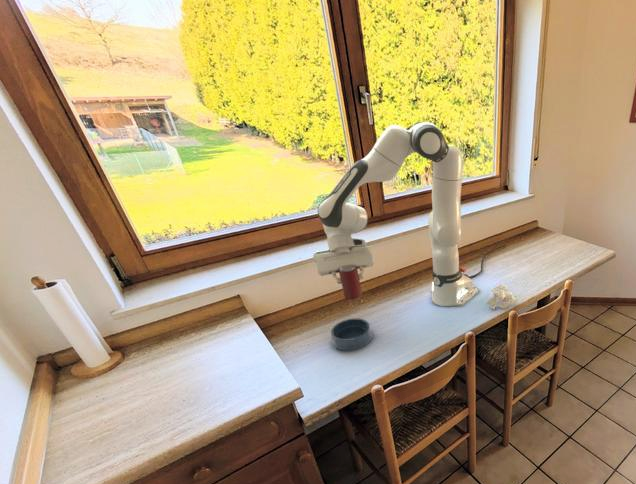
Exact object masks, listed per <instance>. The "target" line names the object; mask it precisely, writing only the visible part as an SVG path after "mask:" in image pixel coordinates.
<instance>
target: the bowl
mask: <svg viewBox="0 0 636 484" xmlns="http://www.w3.org/2000/svg"><path fill="white" fill-rule="evenodd" d="M330 336H331V340H332V344H333V346H334V348H335V349H337V350H339V351H342V352H352V351H357V350H360V349H362V348H365V347H366V346H367V345H368V344H370V342H371V340H372V338H373V337H372V336H373V335H372V329H371V325H370V323H369V321H368V320H365V319H363V318H348V319H344V320H341V321H339V322H337V323H336V324H335V325H333V327H332V328H331V330H330Z"/></svg>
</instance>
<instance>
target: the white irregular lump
mask: <svg viewBox="0 0 636 484" xmlns="http://www.w3.org/2000/svg"><path fill="white" fill-rule="evenodd" d="M491 293H492V297H491V298H490V299H489V300H488V301H486V303H485V304H486V305H487V306H489V307H490V308H491V309H492V310H496V307H500V308H501V309H503V310H505V309H507V308H508V307H511V306H512V305H515V304H516V303H517V301H518V298H517V296H515V295H514V294H513V292H511V291H509V290H507V288H506V286H505V285H504V284H502V283H499V285H497V286H496V287H494V288H492V289H491Z"/></svg>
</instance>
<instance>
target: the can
mask: <svg viewBox="0 0 636 484" xmlns="http://www.w3.org/2000/svg"><path fill="white" fill-rule="evenodd" d="M338 270H339V273H338V274H339V278H341V282H342V283H341V287H342V292H343V296H344V298H345V299H346V300H355V299H358V298H360V297H362V295H363V291H362V287H361V281H360V280H359V276H358V274H359V271H358V270H359V269H357V266H356V265H346V266H341V267H340V268H339V269H338Z"/></svg>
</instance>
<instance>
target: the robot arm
mask: <svg viewBox="0 0 636 484" xmlns="http://www.w3.org/2000/svg"><path fill="white" fill-rule="evenodd" d="M414 153H416V154H418V155H419V156H420V157H421V158H424V159H426V160H429V161H431V162H432V180H431V181H432V183H431V205H432V210H431V211H430V213H429V215H428V220H427V223H428V233H429V241H430V248H431V249H430V250H431V256H432V257H431V258H432V272H431V273H432V284H431V285H432V286H431V293H432V294H431V298H430V299H431V302H432V303H433V304H435V305H437V306H440V307H453V306H456V307H462V306H465V304H467V302H469V301H470V300H471V299H472V298H474V296H475V295H477V294H478V293H479V289H478V288H477V286H475V285H474V283H473V280H472V279H471V278H475V277H477V276H478V275H480V274H481V273H482V272H483V265H484V260H485V258H486V257H487V256H488V255H489V254H490V253H492V252H494V251H496V250H499V249H501V248H504V247H507V246H506V244H503V245H501V246H498V247H495V248H493V249H491V250H489V251H487V252H486V253H485V254H484V255H483V257H482V259H481V263H480V270H479V272H477V273H475V274H473V275H470V276H469V275H468V274H467V273H466V272H467V268H466V267H463V266H462V267H461V266H460V259H459V258H460V256H459V255H460V254H459V248H458V247H459V246H458V244H459V243H460V242H461V240H462V208H461V207H462V206H461V198H462V197H461V196H462V185H463V184H462V183H463V157H462V152H461V150H460V149H459V148H458V147H456V146H454V145H452V144H448V142H447V140H446V138H445V136H444V134H443V132H442V131H441V130H440V128H439V127H438V126H436V124H434V123H432V122H429V121H419V122H416V123H415V124H413V125H411V126H409V127H407V128H405V127H403V126H402V125H398V124H391V125H389V126H387V128H386V129H385V130H384V131H383V132H382V133H381V135H380V136H379V137H378V139H377V141H375V143H374V145H373V147H372V149H371V150H370V151H369V152H368V153H367V154H366V156H364V157H363V158H362V159H359V160H357V161H355V162H354V163H353V164H352V165H351V166H350V167H349V169H347V171H346V172H345V174H344V175H343V176H342V178H341V179H339V181H338V183H337V184H336V185H335V187H333V189H332V191H331V192H330V193H329V194H328V195H327V196H325V198H323V200H321V202H320V203H319V205H318V207H317V216H318V219H319V220H320V222H321V223H322V227H323V231H324V234H325V235H326V242H327V247H328V248H327V249H322V250H317V251H315V252H314V253H313V255H312V256H313V257H312V258H313V261H314V262H315V263H316V268H317V269H316V270H317V273H318V275H319V276H322V277H323V276H327V275H328V276H329V275H331V276H332V278H333V279H334V280H335V281H336V283H337V285H340V284H341V285H342V282H341V278H340V277H338V276H337V274H339V270H338V269H339V268H340V267H341V266H346V265H356V266H357V270H359V272H360V273H358V276H359V281H360V280H363V279H364V276H363V274H364V271H365V268H370V267H373V266H374V264H375V259H374V256H373V253H372V251H371V249H370V248H369V246H367V243H366V240H365V239H362V238H353V237H352V235H353V234H357V233H360V232H361V231H363V230H365V228H366V227H367V226H368V224H369V223H368V222H369V216H368V212H367V210H366V209H365V208H364V207H362V206H359V205H357V204H354V203H349V200H351V198H352V196H353V195H354V194H355V193H356V191H357V190H358V189H359V188H360V187H362V186H363V185H366V184H369V183H384V182H388V181H391V180H393V179H394V178H395V177H396V176H397V174H398V173H399V172H400V169H401V168H402V166H403V165H404V163H405V161H406V159H407V158H408V157H409V156H410V155H412V154H414Z"/></svg>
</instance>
